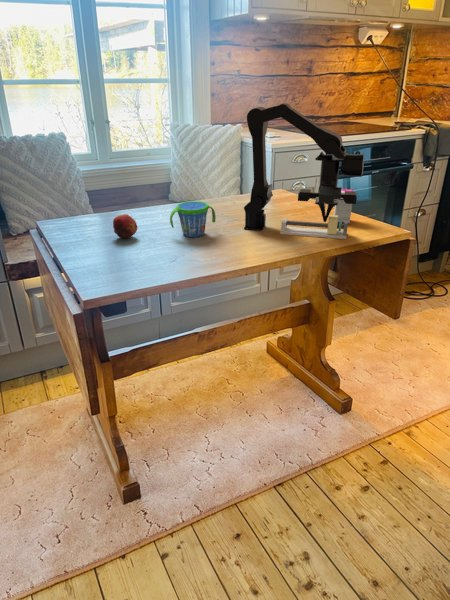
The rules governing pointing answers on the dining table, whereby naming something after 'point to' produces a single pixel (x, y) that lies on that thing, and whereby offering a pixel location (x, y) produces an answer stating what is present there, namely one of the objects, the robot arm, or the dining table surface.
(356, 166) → the robot arm
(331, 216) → the sleeve
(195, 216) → the snack cup
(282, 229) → the linear slide rail
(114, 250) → the dining table surface
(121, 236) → the fruit
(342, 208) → the supplement box
